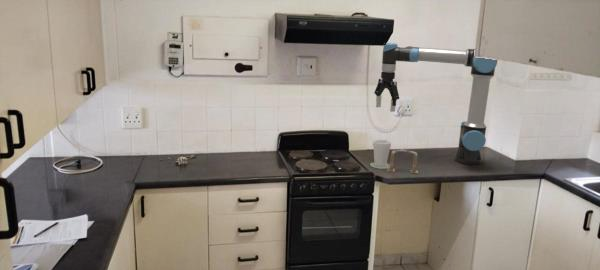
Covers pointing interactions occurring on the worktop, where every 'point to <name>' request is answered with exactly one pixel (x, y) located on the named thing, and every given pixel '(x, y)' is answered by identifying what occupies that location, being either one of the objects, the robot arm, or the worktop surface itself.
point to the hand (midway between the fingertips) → (385, 109)
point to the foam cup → (381, 152)
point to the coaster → (379, 166)
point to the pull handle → (413, 161)
